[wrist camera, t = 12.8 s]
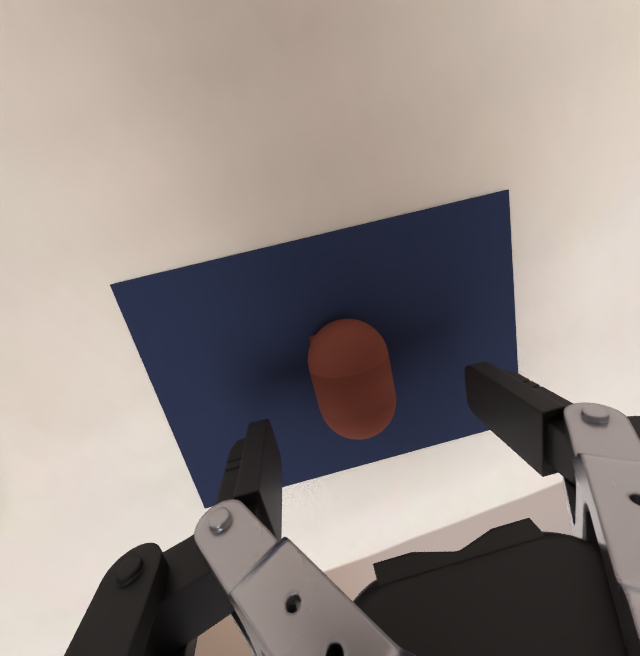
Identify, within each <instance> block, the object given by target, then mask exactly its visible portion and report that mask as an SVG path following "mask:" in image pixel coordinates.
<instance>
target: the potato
mask: <svg viewBox="0 0 640 656" xmlns="http://www.w3.org/2000/svg"><path fill="white" fill-rule="evenodd" d="M309 340H310V347H309V351H308V366H309V371H310V375H311V379H312V383H313V386H314V390H315V394H316V398H317V402H318V406H319V409H320V412H321V414H322V417H323V419H324V421H325V422H326V423H327V425H328V426H329V427H330V428H331V429H332V430H333V431H334V432H336V433H337V434H339V435H341V436H343V437H346V438H349V439H357V440H361V439H368V438H371V437H373V436H375V435H377V434H379V433H380V432H382V431H383V430H384V429H385V428H386V427H387V426H388V424H389V423H390V421H391V420H392V418H393V415H394V412H395V407H396V393H395V388H394V382H393V376H392V371H391V365H390V360H389V354H388V350H387V346H386V344H385V342H384V340H383V338H382V337H381V335H380V334H379V333H378V332H377V330H376V329H374V328H373V327H372V326H370V325H369V324H367V323H365V322H363V321H360V320H355V319H340V320H336V321H333V322H331V323H329V324H327V325H326V326H324V327H323V328H322V329H320V330H319V332H318V333H317V334H316V335H313V336H310V337H309Z"/></svg>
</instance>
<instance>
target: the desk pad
mask: <svg viewBox="0 0 640 656" xmlns="http://www.w3.org/2000/svg"><path fill="white" fill-rule="evenodd" d="M110 286H111V289H112V291H113V293H114V296H115V298H116V300H117V303H118V305H119V307H120V310H121V312H122V314H123V317H124V319H125V321H126V324H127V326H128V328H129V331H130V333H131V336H132V338H133V340H134V343H135V345H136V347H137V350H138V352H139V354H140V357H141V359H142V361H143V364H144V366H145V368H146V371H147V373H148V376H149V378H150V380H151V383H152V385H153V387H154V390H155V392H156V394H157V397H158V399H159V401H160V404H161V406H162V408H163V411H164V413H165V415H166V418H167V420H168V423H169V425H170V427H171V430H172V432H173V434H174V437H175V439H176V441H177V444H178V446H179V448H180V451H181V453H182V455H183V458H184V460H185V462H186V465H187V467H188V470H189V472H190V474H191V477H192V479H193V481H194V484H195V486H196V488H197V491H198V493H199V495H200V498H201V500H202V502H203V505H204V507H205V508H209V507H212V506H214V505H215V503H216V499H217V496H218V492H219V488H220V485H221V481H222V477H223V474H224V473H225V471H224V470H225V466H226V464H227V459H228V455H229V452H230V450H231V448H232V447H233V446H234V444H235V443H236V442H237V440H240V439H244V438H246V434H247V429H248V425H249V423H252V422H256V421H260V420H264V419H267V418H268V419H269V421H270V423H271V426H272V429H273V432H274V435H275V438H276V442H277V445H278V448H279V451H280V455H281V460H282V487H285V486H288V485H292V484H296V483H299V482H303V481H306V480H310V479H314V478H317V477H321V476H324V475H328V474H332V473H335V472H339V471H343V470H346V469H350V468H353V467H357V466H361V465H364V464H368V463H372V462H375V461H379V460H382V459H386V458H390V457H393V456H397V455H401V454H404V453H408V452H411V451H415V450H419V449H422V448H426V447H430V446H433V445H437V444H440V443H444V442H448V441H451V440H455V439H459V438H462V437H466V436H469V435H473V434H477V433H480V432H484V431H488V430H490V429H489V428H488V427H487V426H486V425H484V424H483V423H482V422H481V421H480V420H479V419H478V418H477V417H475V416H474V414H473V413H472V412H471V410H470V408H469V406H468V403H467V395H466V385H465V374H464V369H465V367H466V366H468V365H472V364H475V363H479V362H483V361H487V362H489V363H491V364H492V365H494V366H496V367H498V368H499V369H501V370H502V369H504V370H507V371H511V372H515V373H518V361H517V341H516V322H515V302H514V283H513V264H512V244H511V225H510V205H509V190H504V191H500V192H496V193H492V194H487V195H483V196H479V197H475V198H471V199H466V200H462V201H458V202H454V203H450V204H446V205H441V206H437V207H433V208H429V209H425V210H420V211H416V212H412V213H408V214H404V215H400V216H395V217H391V218H387V219H383V220H379V221H374V222H370V223H366V224H362V225H358V226H353V227H349V228H345V229H341V230H337V231H333V232H328V233H324V234H320V235H316V236H312V237H307V238H303V239H299V240H295V241H291V242H287V243H282V244H278V245H274V246H270V247H266V248H261V249H257V250H253V251H249V252H245V253H240V254H236V255H232V256H228V257H224V258H220V259H215V260H211V261H207V262H203V263H199V264H194V265H190V266H186V267H182V268H178V269H174V270H169V271H165V272H161V273H157V274H153V275H148V276H144V277H140V278H136V279H132V280H128V281H123V282H119V283H115V284H111V285H110ZM340 319H355V320H360V321H363V322H365V323H367V324H369V325H370V326H372V327H373V328H374V329H376V330H377V332H378V333H379V334H380V335H381V337H382V338H383V340H384V342H385V344H386V346H387V350H388V354H389V360H390V365H391V371H392V376H393V382H394V388H395V393H396V407H395V412H394V415H393V418H392V420H391V421H390V423H389V424H388V426H387V427H386V428H385V429H384V430H383V431H382V432H380V433H379V434H377V435H375V436H373V437H371V438H368V439H361V440H357V439H349V438H346V437H343V436H341V435H339V434H337V433H336V432H334V431H333V430H332V429H331V428H330V427H329V426H328V425H327V423H326V422H325V421H324V419H323V417H322V414H321V412H320V409H319V406H318V402H317V398H316V394H315V390H314V386H313V383H312V379H311V375H310V371H309V366H308V351H309V347H310V340H309V337H310V336H313V335H316V334H317V333H318V332H319V330H320V329H322V328H323V327H324V326H326V325H327V324H329V323H331V322H333V321H336V320H340Z"/></svg>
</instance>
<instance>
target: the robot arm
mask: <svg viewBox="0 0 640 656" xmlns="http://www.w3.org/2000/svg"><path fill="white" fill-rule="evenodd" d="M464 374H465V385H466V395H467V403H468V406H469V408H470V410H471V412H472V413H473V414H474V416H475V417H477V418H478V419H479V420H480V421H481V422H482V423H483V424H484V425H486V426H487V427H488V428H489V429H490V430H491V431H492V432H493V433H494V434H496V435H497V436H498V437H499V438H500V439H501V440H502V441H503V442H505V443H506V444H507V445H508V446H509V447H510V448H511V449H512V450H513V451H515V452H516V453H517V454H518V455H519V456H520V457H521V458H522V459H524V460H525V461H526V462H527V463H528V464H529V465H530V466H531V467H532V468H534V469H535V470H536V471H537V472H538V473H539V474H540V475H541V476H543V477H544V476H548V475H551V474H555V473H558V472H559V473H560V474H561V475H562V476H563V488H564V493H565V499H566V504H567V509H568V514H569V519H570V524H571V529H572V535H573V536H571V535H566V534H561V533H553V532H542V531H541V530H540V529H539V528H538V527H537V526H536V525H535V524H534V523H533V522H532V520H531V519H530V518H527V519H523V520H520V521H516V522H513V523H510V524H506V525H503V526H499V527H496V528H493V529H491V530H489V531H488V532H486V533H485V534H483V535H482V536H481V537H479V538H477V539H476V540H475V541H473V542H472V543H470V544H469V545H467V546H466V547H464V548H463V549H461V550H459V551H455V552H411V553H408V554H404V555H401V556H398V557H395V558H391V559H387V560H384V561H381V562H378V563H374V564H373V566H374V570H375V574H376V578H377V579H376V580H375V581H373V582H372V583H370V584H369V585H368V586H367V587H366V588H365V589H364V590H363V591H361V592H360V593H359V595H358V596H357V597H356V598H355V599H354V601H352V600H351V599H350V598H349V597H348V596H347V595H346V594H344V592H343V591H342V590H341V589H340V588H339V587H338V586H336V585H335V584H334V583H333V582H332V581H331V580H330V579H329V578H328V577H327V576H326V575H325V574H324V573H323V572H322V571H321V570H320V569H319V568H318V567H317V566H316V565H315V564H314V563H313V562H312V561H311V560H310V559H309V558H308V557H307V556H306V555H305V554H304V553H303V552H302V551H301V550H300V549H299V548H298V547H297V546H296V545H295V544H294V543H293V542H292V541H291V540H289V539H288V538H286V537H283V538H282V539H281V527H282V460H281V455H280V451H279V448H278V445H277V442H276V438H275V435H274V432H273V429H272V426H271V423H270V421H269V419H268V418H267V419H264V420H260V421H256V422H252V423H249V425H248V429H247V434H246V438H244V439H240V440H237V442H236V443H235V444H234V446H233V447H232V448H231V450H230V452H229V455H228V459H227V464H226V466H225V470H224V471H225V473H224V474H223V477H222V481H221V485H220V488H219V492H218V496H217V499H216V503H215V505H214V506H213V507H212V508H210V509H209V510H208V511H207V512H206V513H205V514H204V515H203V516H202V517H201V519H200V520H199V522H198V523H197V526H196V528H195V531H194V534H193V535H192V536H191V537H189V538H187V539H186V540H184V541H182V542H180V543H179V544H177V545H175V546H173V547H172V548H170V549H168V550H166V551H165V552H162V551H161V549H160V547H159V546H158V545H157V544H155V543H145V544H142V545H139V546H137V547H135V548H133V549H131V550H130V551H128V552H127V553H126V554H124V555H123V556H122V557H121V558H119V559H118V560H117V561H116V562H115V563H114V564H113V565H112V567H111V568H110V569H109V570H108V572H107V573H106V574H105V576H104V578H103V579H102V581H101V583H100V585H99V587H98V589H97V591H96V593H95V595H94V597H93V599H92V601H91V603H90V605H89V607H88V609H87V611H86V613H85V615H84V617H83V619H82V621H81V623H80V625H79V627H78V629H77V631H76V633H75V635H74V637H73V639H72V641H71V643H70V645H69V647H68V649H67V651H66V653H65V655H64V656H194V654H195V648H196V643H197V637H198V636H199V635H201V634H202V633H204V632H205V631H206V630H208V629H209V628H211V627H212V626H214V625H215V624H217V623H218V622H219V621H221V620H222V619H224V618H225V617H227V616H228V615H231V617H232V618H233V620H234V622H235V624H236V625H237V627H238V628H239V630H240V632H241V634H242V636H243V637H244V639H245V641H246V643H247V644H248V646H249V648H250V649H251V651H252V653H253V655H254V656H640V416H627V417H626V416H625V415H624V414H623V413H621V412H620V411H618V410H616V409H613V408H611V407H608V406H605V405H600V404H595V403H575V404H573V403H571V402H569V401H568V400H566V399H564V398H562V397H560V396H558V395H557V394H555V393H553V392H551V391H549V390H547V389H546V388H544V387H540V386H539V385H538V384H536V383H535V382H533V381H530V380H529V379H527V378H525V377H524V376H522V375H520V374H518V373H515V372H511V371H507V370H504V369H502V370H501V369H499V368H498V367H496V366H494V365H492V364H491V363H489V362H487V361H483V362H479V363H475V364H472V365H468V366H466V367H465V369H464Z"/></svg>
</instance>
